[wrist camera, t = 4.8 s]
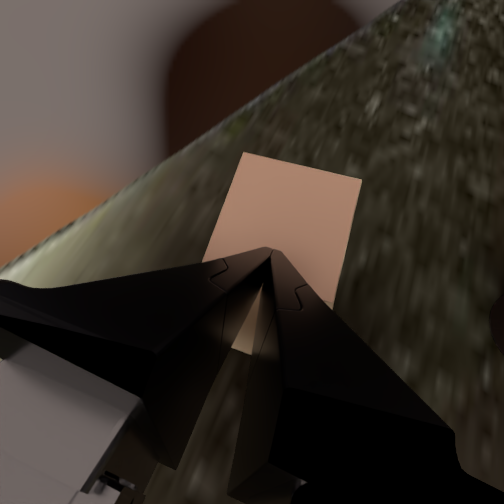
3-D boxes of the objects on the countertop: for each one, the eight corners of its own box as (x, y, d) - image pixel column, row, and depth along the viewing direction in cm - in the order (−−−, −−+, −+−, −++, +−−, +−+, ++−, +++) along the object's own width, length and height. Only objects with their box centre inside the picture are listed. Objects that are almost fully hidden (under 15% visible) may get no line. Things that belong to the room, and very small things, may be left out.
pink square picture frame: (332, 303, 13) (361, 180, 15) (202, 260, 14) (243, 152, 16) (321, 301, 16) (346, 196, 17) (211, 265, 17) (246, 171, 19)
